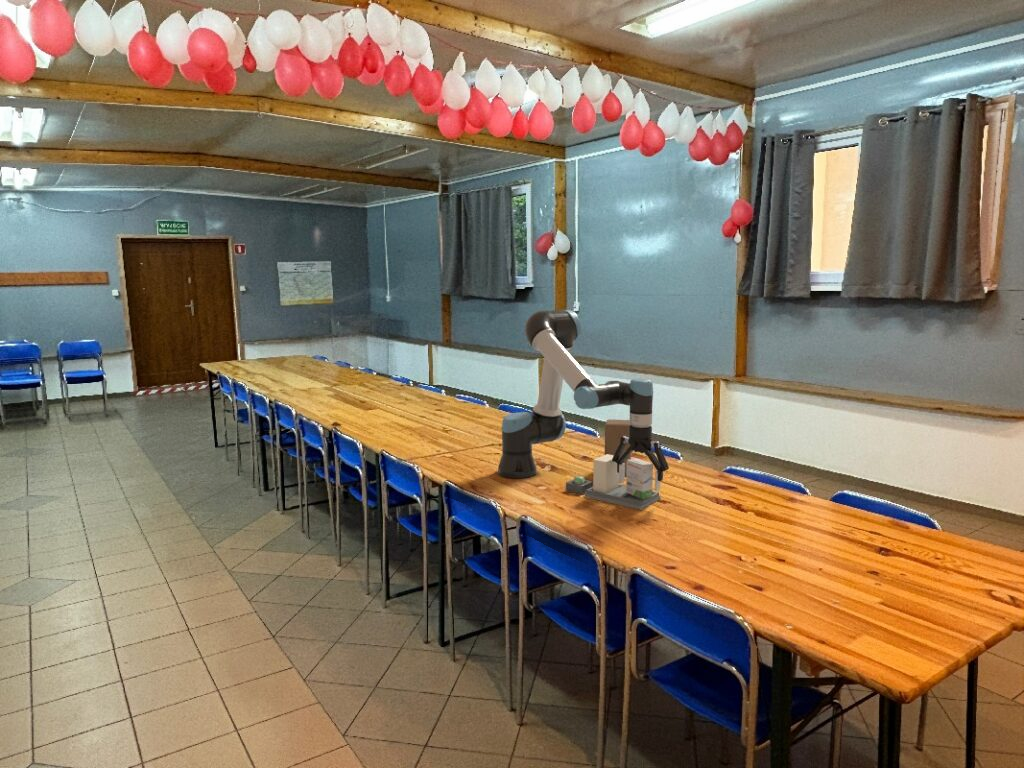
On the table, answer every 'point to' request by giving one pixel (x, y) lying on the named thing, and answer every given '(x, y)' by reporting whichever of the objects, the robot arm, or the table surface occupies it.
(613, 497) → the pallet
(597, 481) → the billet
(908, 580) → the table surface
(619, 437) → the block
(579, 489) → the dark grey square tray
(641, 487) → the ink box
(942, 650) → the table surface
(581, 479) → the button
